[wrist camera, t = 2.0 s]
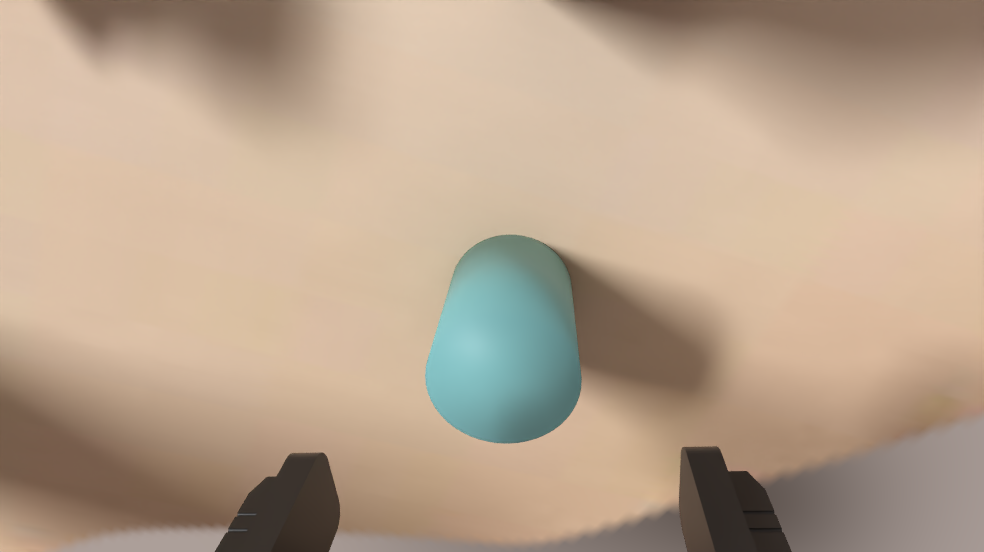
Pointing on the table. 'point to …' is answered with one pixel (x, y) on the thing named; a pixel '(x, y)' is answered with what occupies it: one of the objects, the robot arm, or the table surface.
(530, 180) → the table surface
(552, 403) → the teal pill shape
